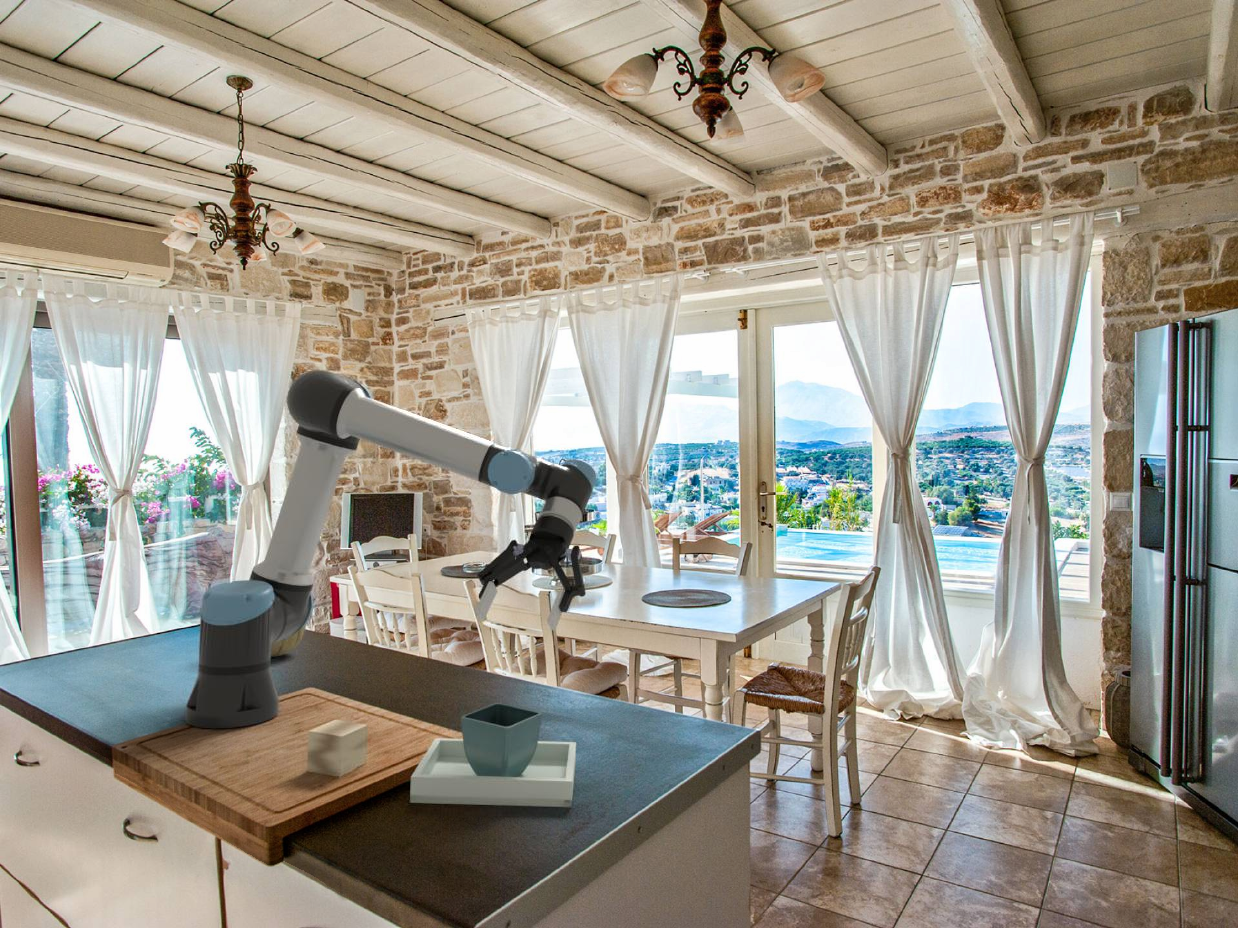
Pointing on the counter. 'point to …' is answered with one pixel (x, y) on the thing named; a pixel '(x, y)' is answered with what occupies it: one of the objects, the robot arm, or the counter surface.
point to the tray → (494, 778)
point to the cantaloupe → (287, 643)
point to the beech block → (337, 747)
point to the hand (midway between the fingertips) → (514, 621)
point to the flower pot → (500, 739)
